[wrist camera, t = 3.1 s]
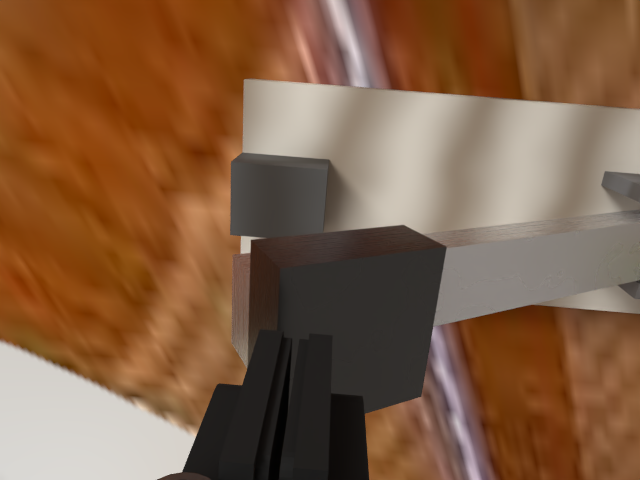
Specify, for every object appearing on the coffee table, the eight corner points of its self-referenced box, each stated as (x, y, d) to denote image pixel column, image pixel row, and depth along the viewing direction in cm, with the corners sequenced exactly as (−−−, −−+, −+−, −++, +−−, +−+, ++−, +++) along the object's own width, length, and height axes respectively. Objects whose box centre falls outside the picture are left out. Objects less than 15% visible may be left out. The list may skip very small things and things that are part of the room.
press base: (699, 113, 28) (823, 128, 21) (638, 300, 32) (723, 367, 25) (250, 78, 28) (219, 81, 21) (246, 267, 32) (218, 323, 25)
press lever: (661, 188, 24) (745, 207, 21) (632, 280, 26) (706, 309, 23) (233, 222, 14) (280, 268, 11) (231, 369, 16) (271, 442, 13)
